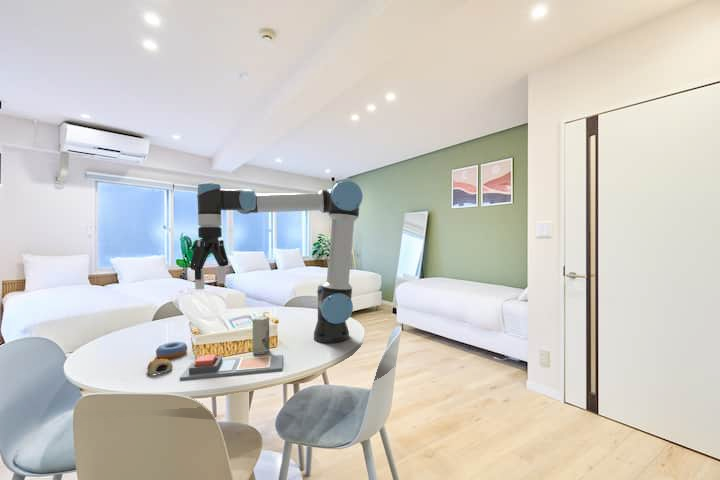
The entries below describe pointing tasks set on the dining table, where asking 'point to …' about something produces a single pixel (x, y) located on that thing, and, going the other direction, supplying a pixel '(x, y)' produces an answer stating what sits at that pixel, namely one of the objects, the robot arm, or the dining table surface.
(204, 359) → the button
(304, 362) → the dining table surface
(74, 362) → the dining table surface
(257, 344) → the box
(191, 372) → the picture board
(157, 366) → the pastry
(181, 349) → the doughnut
